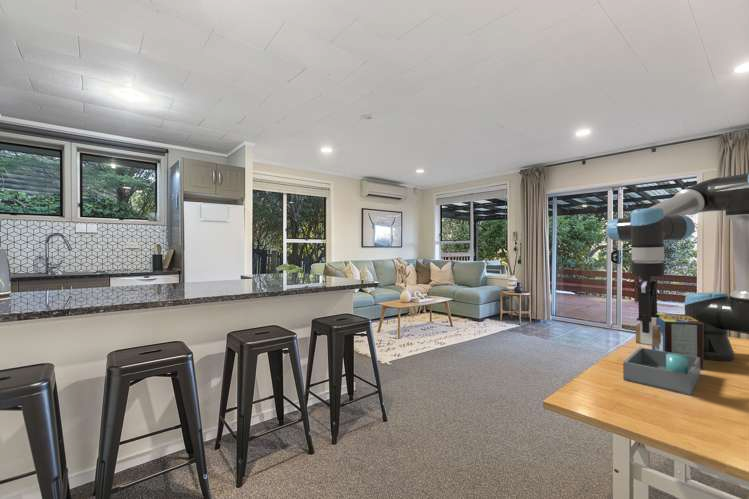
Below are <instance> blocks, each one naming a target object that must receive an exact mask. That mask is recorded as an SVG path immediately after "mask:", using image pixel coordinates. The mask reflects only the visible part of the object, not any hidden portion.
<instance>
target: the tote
mask: <svg viewBox="0 0 749 499" xmlns="http://www.w3.org/2000/svg"><path fill="white" fill-rule="evenodd" d="M669 353H670V352H665V351H659V350H653V349H652V348H645V347H638V348H637V349H636V350H635V351H634V352H633V353H632V354H631V355H630V356H628V357H627V358H626V359H625V360H624V361H623V363H622V364H623V365H622V366H623V369H622V370H623V372H622V373H623V377H622V380H623V381H626V382H630V383H631V382H632V383H634V384H638V385H643V386H647V387H650V388H651V387H652V388H655V389H660V390H664V391H669V392H672V393H677V394H682V395H685V396H690V397H691V396H692V394H693V392H694V390H695V388H696V386H697V384H698V381H699V378H700V377H701V369H700V358H699V357H694V356H688V355H684V356H686V357H688V374H684V373H679V372H674V371H669V370H666V354H669ZM671 354H676V353H671ZM680 355H682V354H680Z"/></svg>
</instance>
